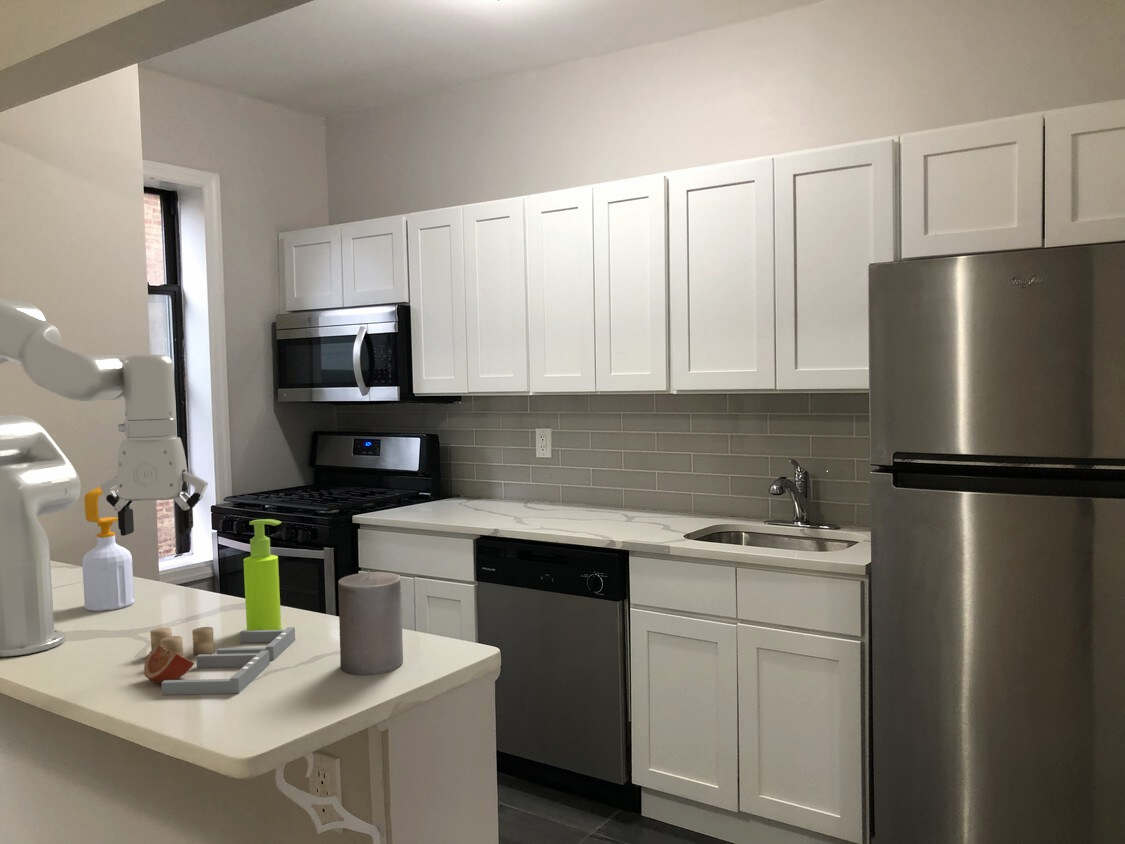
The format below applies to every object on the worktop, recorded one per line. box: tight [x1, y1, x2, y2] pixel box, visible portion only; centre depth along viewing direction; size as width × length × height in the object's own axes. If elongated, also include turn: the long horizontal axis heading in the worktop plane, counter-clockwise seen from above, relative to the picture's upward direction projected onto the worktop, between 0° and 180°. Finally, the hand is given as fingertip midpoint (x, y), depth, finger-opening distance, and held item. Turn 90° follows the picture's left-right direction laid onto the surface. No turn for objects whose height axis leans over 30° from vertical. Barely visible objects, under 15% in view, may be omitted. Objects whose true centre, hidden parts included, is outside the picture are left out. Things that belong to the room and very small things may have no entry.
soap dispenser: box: [243, 518, 283, 631], centre depth 163 cm, size 6×7×20 cm
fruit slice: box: [143, 644, 195, 684], centre depth 138 cm, size 8×7×5 cm
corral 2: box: [216, 626, 296, 661], centre depth 151 cm, size 9×11×2 cm
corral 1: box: [161, 650, 271, 696], centre depth 137 cm, size 11×13×2 cm
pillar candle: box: [337, 570, 404, 676], centre depth 142 cm, size 10×10×15 cm
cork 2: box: [160, 635, 184, 657], centre depth 146 cm, size 3×3×4 cm
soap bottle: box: [81, 486, 135, 612], centre depth 183 cm, size 9×9×25 cm
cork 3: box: [191, 626, 215, 657], centre depth 150 cm, size 3×3×4 cm
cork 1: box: [149, 627, 173, 651], centre depth 151 cm, size 3×3×4 cm
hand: (156, 533), depth 150 cm, fingers open, 9 cm apart
